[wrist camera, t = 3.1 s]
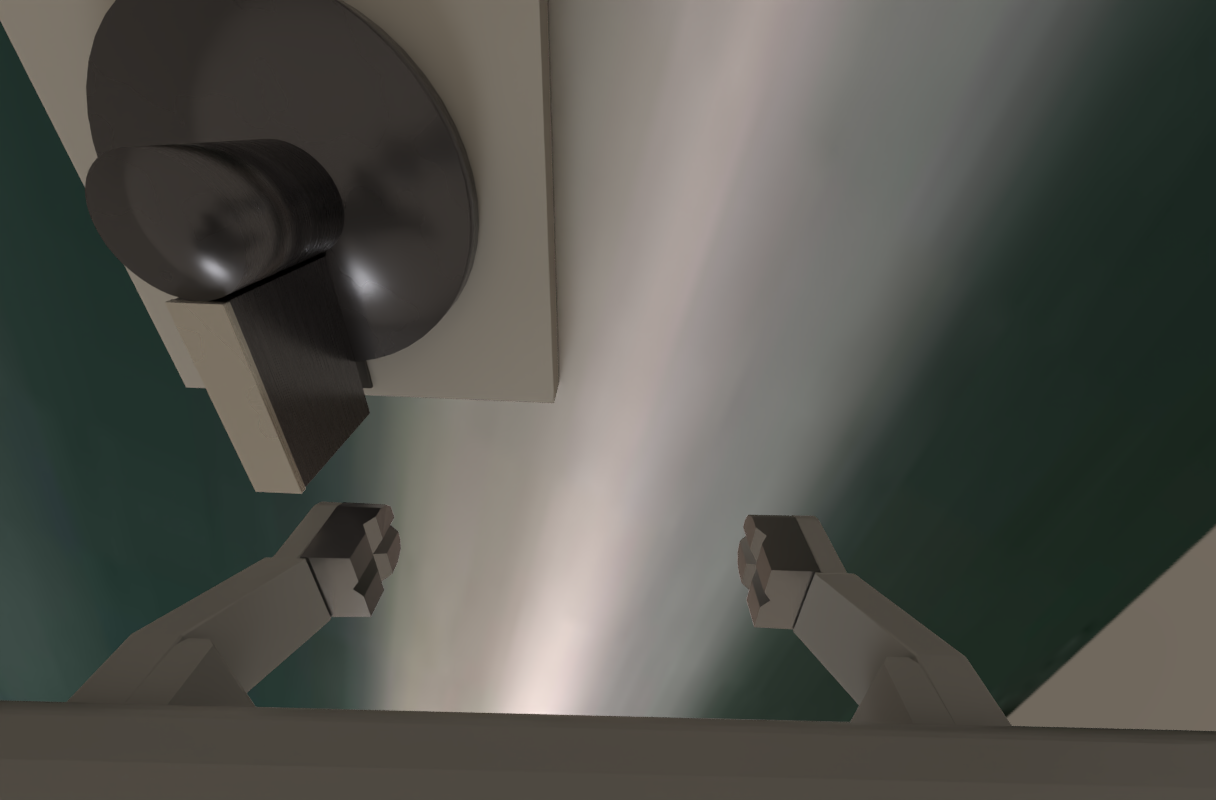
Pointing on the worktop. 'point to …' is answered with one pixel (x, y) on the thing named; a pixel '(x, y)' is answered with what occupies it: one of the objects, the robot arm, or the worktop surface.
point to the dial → (278, 205)
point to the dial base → (499, 158)
